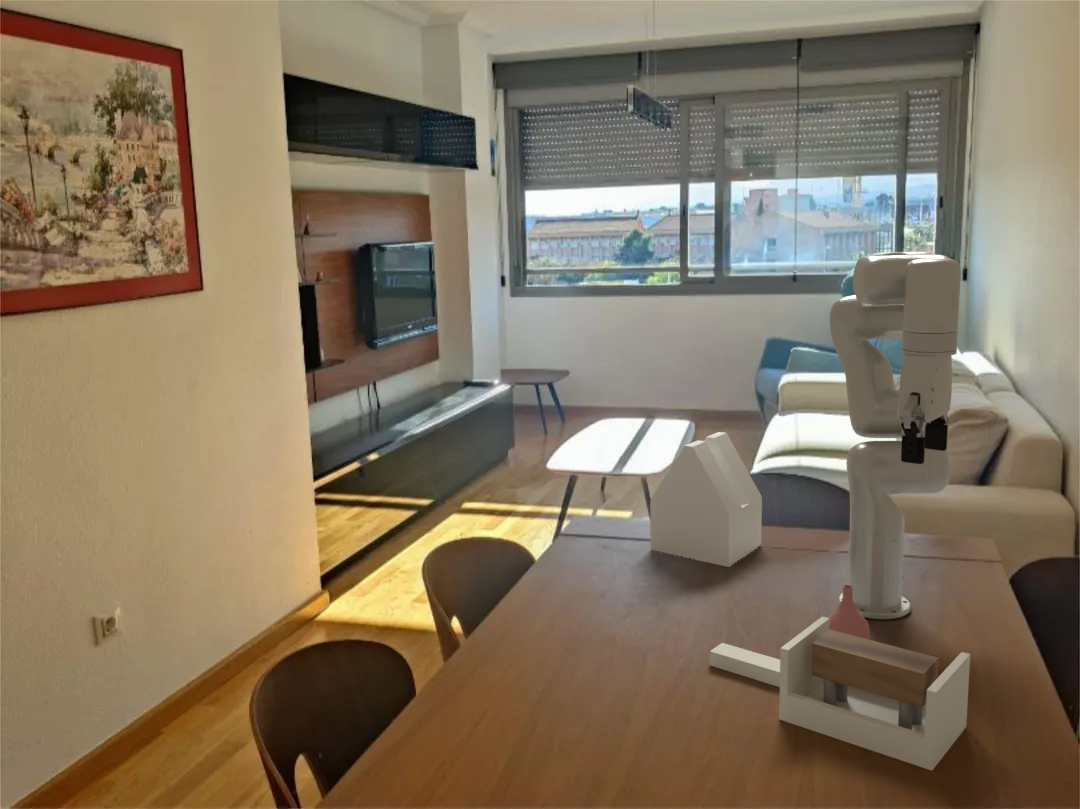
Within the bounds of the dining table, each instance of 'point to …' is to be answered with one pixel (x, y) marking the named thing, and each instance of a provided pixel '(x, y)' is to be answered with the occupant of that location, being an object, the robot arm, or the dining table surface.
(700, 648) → the dining table surface
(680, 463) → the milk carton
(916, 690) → the brown wooden block
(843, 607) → the pink vase
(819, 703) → the stand
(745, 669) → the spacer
